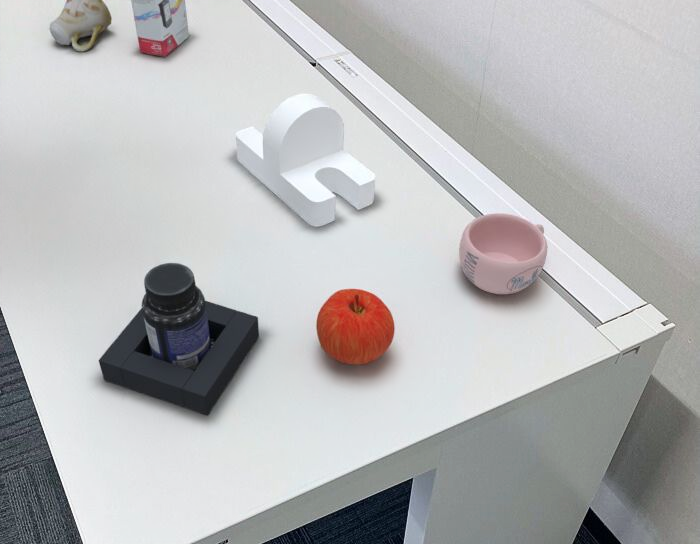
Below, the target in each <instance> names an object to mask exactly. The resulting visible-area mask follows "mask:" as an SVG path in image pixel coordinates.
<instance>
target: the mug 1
mask: <svg viewBox="0 0 700 544" xmlns="http://www.w3.org/2000/svg"><path fill="white" fill-rule="evenodd" d="M112 21H113V19H112V14H111V12H110V9H109V7H108V6H107V4H106V3H105V2H104V1H103V0H66V1H65V4H64V5H63V8H62V10H61V13H60V14H59V15H58V16H57V17H56V19H54V20H53V21H52V22H51V23H50V24H49V31H50V35H51V37H52V38H53V39H54V41H56V43H58V44H60V45H63V46H69V45H71V46H72V48H73V49H74V50H75V51H76V52H85V51H88V50H90V49H91V48H92V47H93V46H94V45H95V42H96V39H97V37H98V35H99V34H100V33H102V32H104V31H105V30H107V28H108V27H109V26H110V25H111V24H112ZM90 36H91V38H90V39H89V42H88V43H87V44H86V45H79V44H78V40H79V39H81V38H85V37H90Z"/></svg>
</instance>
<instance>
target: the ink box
mask: <svg viewBox="0 0 700 544" xmlns="http://www.w3.org/2000/svg"><path fill="white" fill-rule="evenodd" d="M130 2H131V8H132V13H133V18H134V19H133V21H134V24H135V25H134V26H135V31H136V36H137V43H138V47H139V52H140V53H143V54H148V55H153V56H158V57H159V56H160V57H165V58H166V56H168V55H169V54H170V53H171V52H172V51H174V50H175V49H176V48H177V47H178V46H180V45H181V44H182V43H183V42H184V41H185V40H187V39H188V38H189V37H190V30H189V25H188V24H189V22H188V15H187V5H186V0H130Z"/></svg>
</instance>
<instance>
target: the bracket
mask: <svg viewBox="0 0 700 544" xmlns="http://www.w3.org/2000/svg"><path fill="white" fill-rule="evenodd" d="M262 133H263V134H262ZM262 133H261V132H260V131H259V130H257V128H256V127H254V126H253V125H251V126H249V127H245V128H243V129H239V130H238V131H236V133H235V141H236V143H235V144H236V158H237V161H238V163H240V164H241V165H242V166H243V167H244V168H245V169H246V170H247V171H248V172H249V173H250V174H252V175H253V176H254V177H255V178H256V179H258V180H259V181H260V183H262V184H263V185H264V186H265V187H266V188H268V190H269V191H271V192H272V193H274V195H276V196H277V197H278V198H279V199H280V200H281V201H282V202H283V203H284V204H285V205H287V207H289V208H290V209H291V210H292V211H293V212H295V213H296V215H298V216H299V217H301V219H302V220H303V221H305V222H306V224H308V225H310V226H311V227H315V228H318V227H319V228H320V227H324V226H326V225H328V224H331V223H333V222H335V221H336V202H337V201H336V200H337V196H336V195H339V196H340V197H342V198H343V199H344V200H345V201H346V202H347V203H349V204H350V205H351V206H352V207H354V208H355V209H357V211H360V210H362V209H364V208H367V207H369V206H372V204H373V203H374V197H375V187H376V174H375V172H373V171H372V170H371V169H369V168H368V167H367V166H366V165H364V164H363V163H361V162H360V161H359V160H358V159H357V158H355V157H354V156H353V155H351V154H350V153H348V152H347V151H346V150H345V149H344V147H345V146H344V145H345V126H344V122H343V119H342V116H341V115H340V114H339V113H338V111H337V110H335V108H333V107H332V106H330V105H328V103H326V102H325V101H324V100H322V99H320V98H319V97H318V96H316V95H314V94H312V93H298V94H295V95H292V96H289V97H288V98H286V99H285V100H284V101H283V102H281V103H280V104H279V105H278V106H277V107H276V108H275V109H274V110H273V112H271V114H270V116H269V118H268V120H267V121H266V124H265V127H264V130H263V132H262Z"/></svg>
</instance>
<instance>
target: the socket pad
mask: <svg viewBox="0 0 700 544" xmlns="http://www.w3.org/2000/svg"><path fill="white" fill-rule="evenodd" d="M205 305H206V312H207V320H208V327H209V334H210V341H211V340H212V341H214V343H213V344H212V345H211V348H210V350H209V351H208V353H207V354H206V356H205V357H204V358H203V360H202V361H201V363H200V364H199V365H198V367H197V368H196V370H195V371H192V370H189V369H186V368H183V367H180V366H177V365H174V364H172V363H169V362H166V361H163V360H160V359H157V358H154V357H152V352H151V348H150V343H149V339H148V334H147V330H146V325H145V321H144V316H143V312H142V307H141V308H140V309H139V311H138V312H137V313H136V314H135V315H134V317H133V318H132V319H131V320H130V321H129V322H128V323H127V325H126V327H125V328H124V329H122V331H121V332H120V334H118V336H117V337H116V338H115V340H114V341H113V342H112V343H111V345H110V346H109V347H108V348H107V349H106V350H105V351H104V353H103V354H102V355H101V357H100V358H99V359H98V364H99V367H100V371H101V375H102V378H103V380H104V381H106V382H109V383H111V384H115V385H117V386H121V387H124V388H127V389H130V390H132V391H136V392H139V393H141V394H144V395H147V396H150V397H153V398H155V399H159V400H162V401H165V402H167V403H170V404H173V405H176V406H178V407H182V408H185V409H188V410H190V411H193V412H197V413H199V414H202V415H205V416H209V414H210V412H211V411H212V409H213V408H214V407H215V405H216V403H217V402H218V400H219V399H220V397H221V396H222V394H223V392H224V391H225V389H226V388H227V387H228V385H229V383H230V382H231V380H232V379H233V378H234V375H235V374H236V373H237V371H238V369H239V368H240V366H241V365H242V363H243V362H244V360H245V359H246V357H247V356H248V354H249V353H250V351H251V350H252V348H253V346H254V345H255V343H256V342H257V340H258V339H259V337H260V333H259V332H260V331H259V330H260V328H259V317H258V316H256V315H252V314H249V313H247V312H243V311H240V310H237V309H233V308H231V307H227V306H225V305H221V304H218V303H215V302H211V301H208V300H205ZM150 355H151V356H150Z"/></svg>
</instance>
